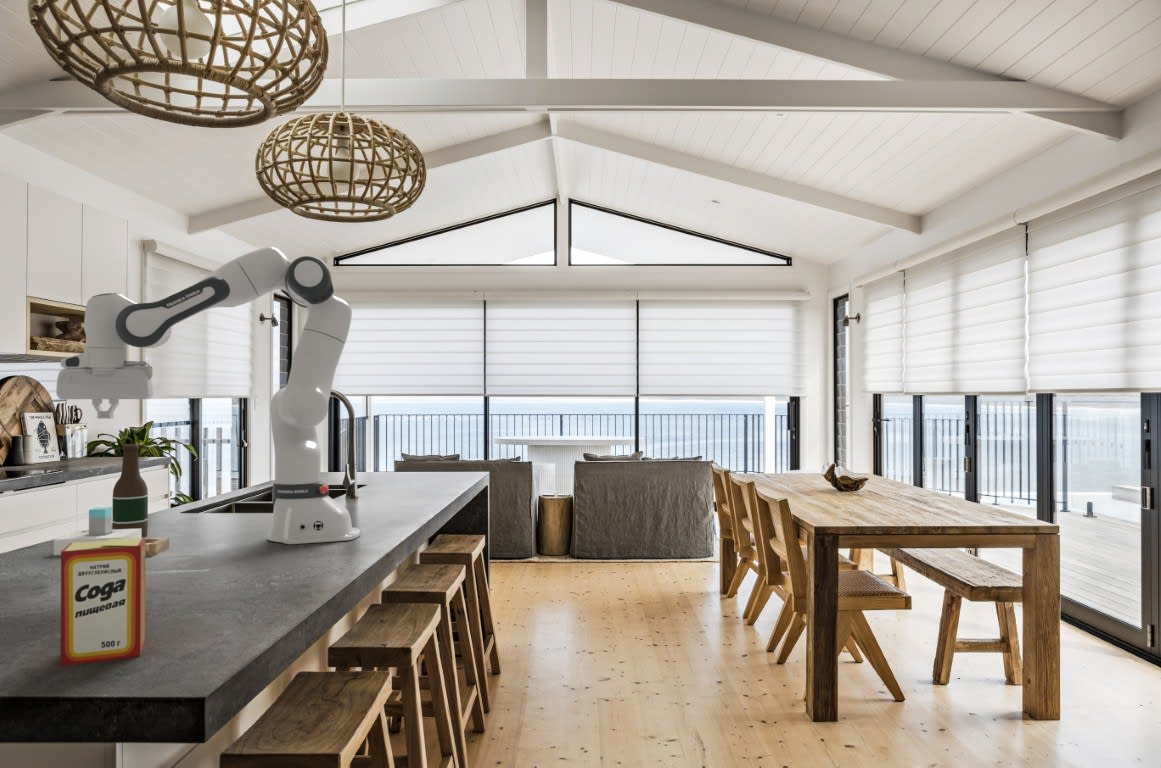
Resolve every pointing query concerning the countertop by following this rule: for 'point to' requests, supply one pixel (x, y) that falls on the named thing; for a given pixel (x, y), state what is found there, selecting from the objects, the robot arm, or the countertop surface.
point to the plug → (100, 521)
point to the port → (93, 537)
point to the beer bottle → (130, 495)
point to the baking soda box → (102, 600)
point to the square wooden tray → (156, 546)
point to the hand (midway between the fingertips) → (105, 418)
